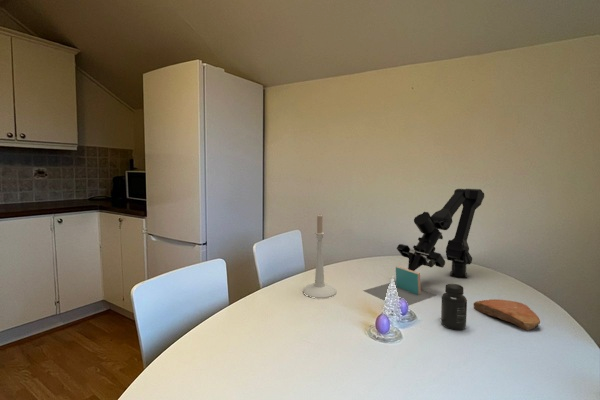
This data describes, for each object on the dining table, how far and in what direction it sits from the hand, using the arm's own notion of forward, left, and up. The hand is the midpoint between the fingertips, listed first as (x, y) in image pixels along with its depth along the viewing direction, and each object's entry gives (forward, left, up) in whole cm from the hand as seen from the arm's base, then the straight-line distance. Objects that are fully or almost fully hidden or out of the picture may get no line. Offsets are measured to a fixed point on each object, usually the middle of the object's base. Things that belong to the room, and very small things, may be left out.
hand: (409, 272), depth 119 cm
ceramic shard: (+9, +31, -8) cm, 33 cm away
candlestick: (+16, -30, -8) cm, 35 cm away
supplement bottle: (+21, +16, -8) cm, 28 cm away
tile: (0, 0, -7) cm, 7 cm away
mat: (+5, -3, -7) cm, 9 cm away
